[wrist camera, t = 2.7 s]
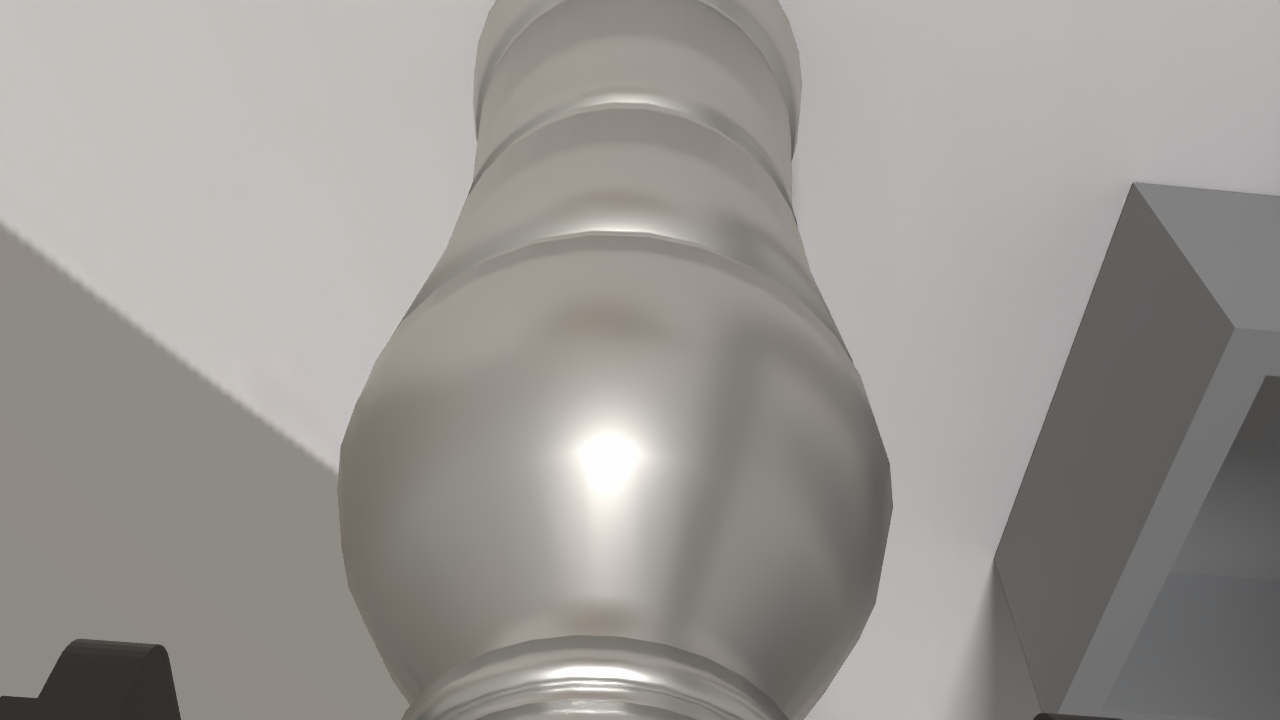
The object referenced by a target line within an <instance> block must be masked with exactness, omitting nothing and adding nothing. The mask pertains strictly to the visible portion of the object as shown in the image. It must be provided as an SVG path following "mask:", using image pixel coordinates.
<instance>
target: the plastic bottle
mask: <svg viewBox="0 0 1280 720" xmlns="http://www.w3.org/2000/svg"><path fill="white" fill-rule="evenodd" d="M801 90H802V79H801V70H800V60H799V51H798V48H797V45H796V42H795V39H794V35H793V32H792V29H791V26H790V23H789V20H788V18H787V16H786V14H785V13H784V11H783V9H782V7H781V5H780V4H779V2H778V0H496V1H495V3H494V4H493V6H492V8H491V9H490V11H489V13H488V16H487V19H486V22H485V25H484V28H483V30H482V33H481V36H480V39H479V42H478V49H477V56H476V64H475V71H474V95H473V105H474V120H475V134H476V139H477V151H476V159H475V168H474V176H473V183H472V186H471V189H470V191H469V194H468V197H467V199H466V201H465V203H464V206H463V208H462V211H461V213H460V216H459V218H458V221H457V223H456V226H455V228H454V231H453V233H452V236H451V238H450V240H449V243H448V245H447V248H446V250H445V251H444V253H443V255H442V256H441V258H440V260H439V261H438V263H437V264H436V266H435V268H434V269H433V271H432V272H431V274H430V276H429V277H428V279H427V280H426V282H425V284H424V285H423V287H422V288H421V290H420V292H419V293H418V295H417V297H416V298H415V300H414V301H413V303H412V305H411V306H410V308H409V309H408V311H407V313H406V314H405V316H404V317H403V319H402V321H401V322H400V324H399V325H398V327H397V329H396V330H395V332H394V334H393V335H392V337H391V338H390V340H389V342H388V343H387V345H386V346H385V348H384V349H383V351H382V352H381V354H380V355H379V357H378V358H377V360H376V362H375V364H374V366H373V369H372V371H371V373H370V375H369V378H368V380H367V382H366V384H365V386H364V389H363V391H362V393H361V395H360V397H359V399H358V401H357V403H356V405H355V408H354V410H353V413H352V416H351V419H350V422H349V425H348V428H347V430H346V433H345V436H344V439H343V442H342V445H341V450H340V462H339V475H338V487H337V493H338V506H339V520H340V532H341V547H342V553H343V558H344V565H345V570H346V575H347V581H348V587H349V589H350V592H351V594H352V596H353V598H354V601H355V603H356V605H357V607H358V610H359V612H360V614H361V616H362V619H363V621H364V623H365V625H366V627H367V629H368V631H369V633H370V635H371V637H372V639H373V641H374V643H375V646H376V648H377V650H378V652H379V654H380V656H381V658H382V660H383V662H384V664H385V666H386V668H387V670H388V672H389V674H390V676H391V678H392V680H393V681H394V683H395V684H396V686H397V687H398V688H399V690H400V691H401V693H402V694H403V696H404V697H405V699H406V700H407V701H408V703H409V704H410V707H409V708H408V709H407V710H406V711H405V713H404V716H403V718H402V720H804V718H805V717H806V716H807V715H808V713H809V712H810V711H811V710H812V708H813V707H814V706H815V704H816V703H817V702H818V701H819V699H820V698H821V697H822V695H823V694H824V693H825V691H826V690H827V688H828V687H829V685H830V684H831V682H832V680H833V679H834V677H835V676H836V674H837V673H838V671H839V670H840V668H841V666H842V665H843V663H844V662H845V660H846V659H847V657H848V656H849V654H850V652H851V651H852V649H853V648H854V646H855V645H856V643H857V642H858V640H859V638H860V636H861V634H862V631H863V629H864V627H865V625H866V623H867V621H868V619H869V616H870V614H871V612H872V610H873V608H874V606H875V603H876V597H877V592H878V586H879V581H880V576H881V570H882V565H883V559H884V554H885V548H886V543H887V537H888V532H889V526H890V521H891V515H892V510H893V502H892V488H891V474H890V463H889V460H888V457H887V454H886V451H885V448H884V445H883V442H882V439H881V436H880V433H879V430H878V427H877V424H876V421H875V418H874V415H873V412H872V409H871V406H870V403H869V400H868V397H867V394H866V391H865V388H864V385H863V382H862V379H861V376H860V374H859V373H858V371H857V369H856V368H855V366H854V364H853V361H852V358H851V356H850V354H849V352H848V350H847V348H846V346H845V344H844V341H843V339H842V337H841V335H840V333H839V331H838V329H837V327H836V325H835V322H834V320H833V318H832V316H831V314H830V312H829V310H828V308H827V306H826V303H825V301H824V299H823V297H822V295H821V293H820V291H819V289H818V287H817V284H816V282H815V280H814V278H813V276H812V274H811V272H810V268H809V265H808V261H807V258H806V254H805V250H804V247H803V243H802V240H801V237H800V234H799V231H798V228H797V222H796V218H795V215H794V211H793V208H792V172H791V161H792V158H793V154H794V151H795V147H796V144H797V135H798V125H799V115H800V103H801Z"/></svg>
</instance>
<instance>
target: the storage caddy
mask: <svg viewBox="0 0 1280 720" xmlns="http://www.w3.org/2000/svg"><path fill="white" fill-rule="evenodd" d="M994 560H995V563H996V566H997V570H998V573H999V576H1000V579H1001V582H1002V586H1003V589H1004V592H1005V595H1006V598H1007V602H1008V605H1009V608H1010V611H1011V614H1012V618H1013V621H1014V624H1015V627H1016V630H1017V634H1018V637H1019V640H1020V643H1021V646H1022V650H1023V653H1024V656H1025V659H1026V662H1027V665H1028V669H1029V672H1030V675H1031V678H1032V681H1033V685H1034V688H1035V691H1036V694H1037V697H1038V701H1039V704H1040V707H1041V710H1042V713H1053V714H1066V715H1080V716H1094V717H1107V718H1119V719H1122V720H1280V196H1269V195H1259V194H1248V193H1238V192H1228V191H1217V190H1207V189H1196V188H1186V187H1175V186H1165V185H1155V184H1144V183H1134V182H1133V184H1132V187H1131V189H1130V192H1129V195H1128V198H1127V200H1126V203H1125V206H1124V208H1123V211H1122V214H1121V217H1120V219H1119V222H1118V225H1117V227H1116V230H1115V233H1114V235H1113V238H1112V241H1111V244H1110V246H1109V249H1108V252H1107V254H1106V257H1105V260H1104V263H1103V265H1102V268H1101V271H1100V273H1099V276H1098V279H1097V282H1096V284H1095V287H1094V290H1093V292H1092V295H1091V298H1090V300H1089V303H1088V306H1087V309H1086V311H1085V314H1084V317H1083V319H1082V322H1081V325H1080V328H1079V330H1078V333H1077V336H1076V338H1075V341H1074V344H1073V347H1072V349H1071V352H1070V355H1069V357H1068V360H1067V363H1066V365H1065V368H1064V371H1063V374H1062V376H1061V379H1060V382H1059V384H1058V387H1057V390H1056V393H1055V395H1054V398H1053V401H1052V403H1051V406H1050V409H1049V412H1048V414H1047V417H1046V420H1045V422H1044V425H1043V428H1042V430H1041V433H1040V436H1039V439H1038V441H1037V444H1036V447H1035V449H1034V452H1033V455H1032V458H1031V460H1030V463H1029V466H1028V468H1027V471H1026V474H1025V476H1024V479H1023V482H1022V485H1021V487H1020V490H1019V493H1018V495H1017V498H1016V501H1015V504H1014V506H1013V509H1012V512H1011V514H1010V517H1009V520H1008V523H1007V525H1006V528H1005V531H1004V533H1003V536H1002V539H1001V541H1000V544H999V547H998V550H997V552H996V555H995V558H994Z"/></svg>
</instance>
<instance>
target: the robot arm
mask: <svg viewBox="0 0 1280 720" xmlns="http://www.w3.org/2000/svg"><path fill="white" fill-rule="evenodd" d="M0 720H181V718H180V712H179V707H178V702H177V697H176V692H175V687H174V682H173V677H172V671H171V666H170V662H169V657H168V653H167V651H166V649H165V648H164V647H163V646H162V645H158V644H144V643H130V642H116V641H103V640H90V639H76V640H74V641H73V642H71V643H70V644H69V645H68V646H67V647H66V648H65V650H64V651H63V652H62V654H61V656H60V657H59V659H58V661H57V663H56V665H55V667H54V669H53V671H52V672H51V674H50V676H49V678H48V680H47V682H46V684H45V685H44V687H43V689H42V691H41V693H40V695H39V697H38V698H24V697H11V696H1V697H0ZM1033 720H1122V719H1119V718H1107V717H1094V716H1080V715H1066V714H1053V713H1040V714H1038V715H1037V716H1036V717H1035V718H1034V719H1033Z"/></svg>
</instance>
